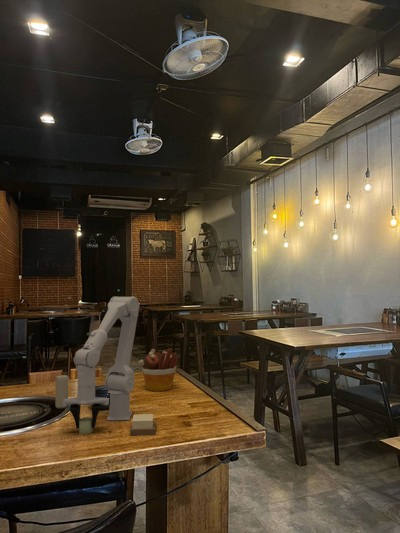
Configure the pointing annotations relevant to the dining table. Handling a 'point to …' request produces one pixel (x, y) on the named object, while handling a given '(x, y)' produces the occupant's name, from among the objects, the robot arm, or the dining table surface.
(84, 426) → the green cylinder
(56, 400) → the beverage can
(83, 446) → the dining table surface
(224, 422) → the dining table surface
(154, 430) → the base block
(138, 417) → the top block
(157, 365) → the bucket of meat
